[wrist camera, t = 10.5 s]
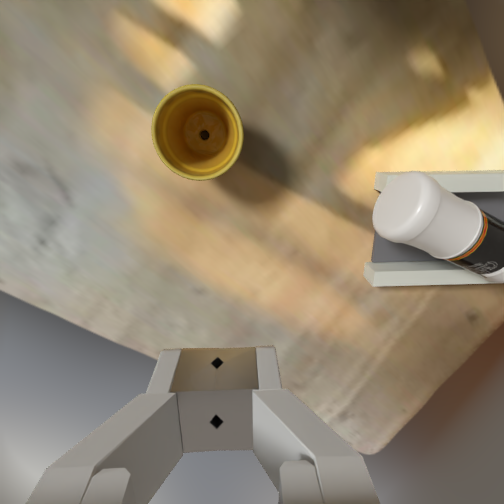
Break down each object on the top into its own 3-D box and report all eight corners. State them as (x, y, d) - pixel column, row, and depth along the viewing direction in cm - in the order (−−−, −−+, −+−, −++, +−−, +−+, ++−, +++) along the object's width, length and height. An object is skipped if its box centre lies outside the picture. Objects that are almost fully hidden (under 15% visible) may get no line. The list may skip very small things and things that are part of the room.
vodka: (388, 168, 44) (530, 242, 53) (359, 229, 46) (502, 292, 54) (439, 167, 36) (600, 256, 44) (401, 243, 37) (564, 315, 45)
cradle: (376, 172, 48) (390, 176, 43) (573, 169, 49) (608, 172, 44) (363, 275, 54) (375, 289, 49) (539, 271, 55) (568, 284, 50)
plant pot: (210, 186, 48) (203, 199, 38) (153, 136, 45) (131, 136, 36) (257, 132, 45) (262, 132, 36) (201, 76, 43) (191, 60, 33)
